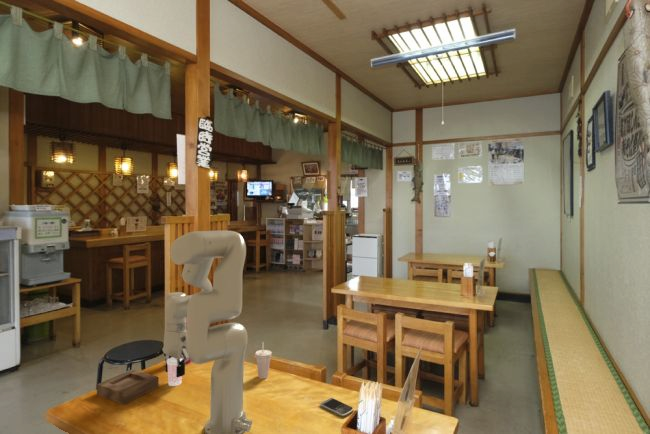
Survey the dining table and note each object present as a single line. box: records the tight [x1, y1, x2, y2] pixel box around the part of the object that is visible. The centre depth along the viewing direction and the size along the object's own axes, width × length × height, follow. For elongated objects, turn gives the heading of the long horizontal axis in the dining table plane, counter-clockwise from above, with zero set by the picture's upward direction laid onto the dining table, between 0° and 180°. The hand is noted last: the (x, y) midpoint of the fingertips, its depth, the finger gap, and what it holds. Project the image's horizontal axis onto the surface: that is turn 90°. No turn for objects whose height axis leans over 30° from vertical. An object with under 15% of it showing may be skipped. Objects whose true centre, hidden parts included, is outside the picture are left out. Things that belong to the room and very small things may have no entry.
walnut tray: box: [96, 369, 160, 405], centre depth 137 cm, size 14×14×4 cm
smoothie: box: [254, 341, 273, 380], centre depth 150 cm, size 6×6×14 cm
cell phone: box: [318, 397, 355, 418], centre depth 128 cm, size 6×11×1 cm, turn 48°
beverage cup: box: [166, 357, 183, 387], centre depth 143 cm, size 6×6×14 cm
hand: (175, 372), depth 143 cm, fingers closed on beverage cup, 6 cm apart
